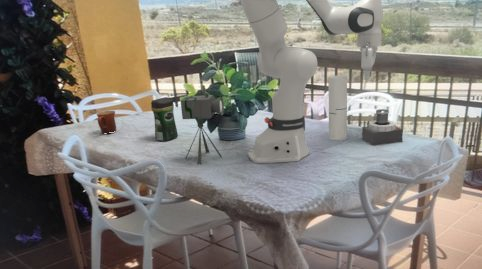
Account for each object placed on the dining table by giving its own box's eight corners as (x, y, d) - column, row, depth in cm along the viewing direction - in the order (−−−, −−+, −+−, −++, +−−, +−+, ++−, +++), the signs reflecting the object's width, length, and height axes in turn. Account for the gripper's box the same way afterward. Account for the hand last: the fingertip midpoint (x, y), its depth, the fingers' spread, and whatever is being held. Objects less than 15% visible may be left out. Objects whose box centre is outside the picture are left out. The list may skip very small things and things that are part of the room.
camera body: (373, 145, 153) (373, 128, 151) (361, 138, 162) (361, 121, 160) (402, 142, 154) (403, 124, 152) (389, 135, 164) (390, 118, 162)
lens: (387, 129, 154) (388, 112, 152) (375, 129, 155) (375, 111, 154) (388, 126, 158) (388, 109, 156) (375, 126, 160) (376, 109, 158)
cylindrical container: (347, 140, 162) (347, 77, 155) (329, 140, 163) (328, 78, 156) (346, 134, 168) (346, 75, 161) (328, 135, 170) (328, 75, 163)
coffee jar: (169, 134, 188) (164, 95, 182) (180, 137, 182) (176, 96, 177) (152, 140, 181) (147, 99, 176) (163, 142, 176) (158, 101, 170)
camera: (180, 165, 146) (171, 98, 139) (190, 151, 161) (184, 90, 154) (222, 165, 144) (216, 96, 137) (229, 151, 159) (224, 88, 152)
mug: (105, 130, 204) (101, 110, 201) (121, 130, 203) (118, 110, 200) (93, 137, 193) (89, 116, 190) (110, 137, 191) (106, 116, 188)
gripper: (376, 43, 143) (374, 82, 146) (379, 40, 161) (377, 74, 165) (357, 43, 145) (356, 81, 149) (362, 40, 163) (361, 74, 167)
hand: (367, 78), depth 157 cm, fingers open, 8 cm apart
